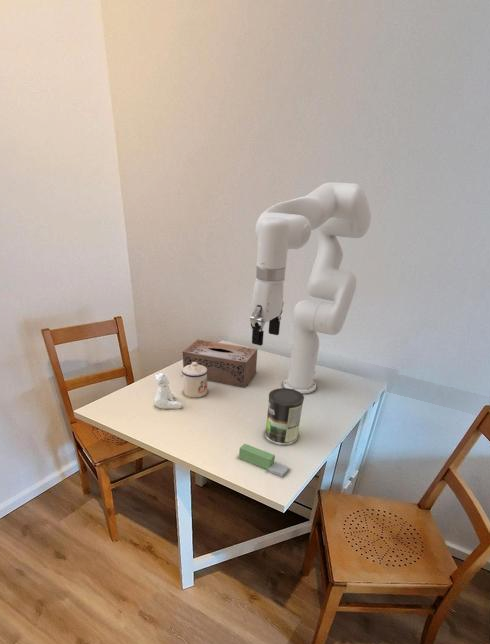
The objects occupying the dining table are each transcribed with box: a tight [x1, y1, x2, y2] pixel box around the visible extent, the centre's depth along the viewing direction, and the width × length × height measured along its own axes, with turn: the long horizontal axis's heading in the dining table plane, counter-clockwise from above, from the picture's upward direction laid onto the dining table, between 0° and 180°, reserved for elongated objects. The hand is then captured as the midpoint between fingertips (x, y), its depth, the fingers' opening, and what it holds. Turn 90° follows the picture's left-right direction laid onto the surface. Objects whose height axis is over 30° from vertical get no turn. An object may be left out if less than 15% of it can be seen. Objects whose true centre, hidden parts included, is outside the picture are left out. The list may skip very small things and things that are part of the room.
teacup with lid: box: [181, 362, 208, 398], centre depth 140 cm, size 12×9×12 cm
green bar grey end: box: [238, 443, 290, 478], centre depth 108 cm, size 14×4×4 cm, turn 57°
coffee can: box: [264, 387, 305, 446], centre depth 117 cm, size 10×10×14 cm
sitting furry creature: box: [153, 372, 182, 410], centre depth 131 cm, size 10×9×12 cm
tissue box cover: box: [182, 339, 258, 388], centre depth 152 cm, size 26×14×10 cm, turn 70°
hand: (265, 339), depth 110 cm, fingers open, 9 cm apart
